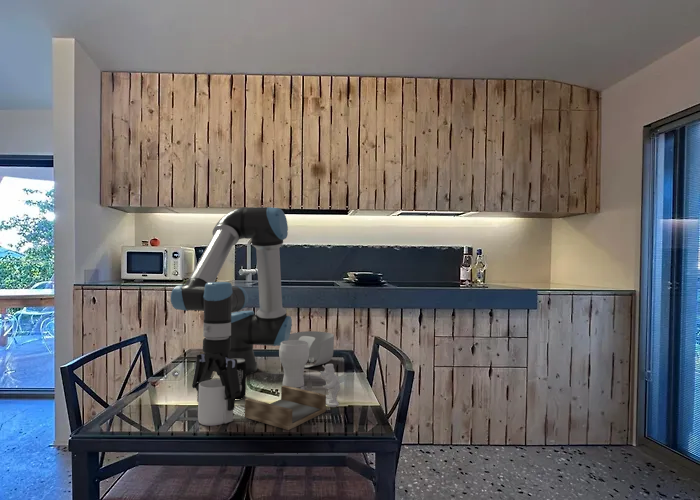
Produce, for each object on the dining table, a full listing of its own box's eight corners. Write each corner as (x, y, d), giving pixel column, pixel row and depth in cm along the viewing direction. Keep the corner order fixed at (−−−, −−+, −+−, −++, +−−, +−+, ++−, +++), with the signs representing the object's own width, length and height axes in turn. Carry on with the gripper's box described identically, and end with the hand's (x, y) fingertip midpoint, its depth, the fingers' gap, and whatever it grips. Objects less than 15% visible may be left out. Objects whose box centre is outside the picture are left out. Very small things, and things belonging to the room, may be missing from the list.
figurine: (315, 398, 143) (316, 361, 143) (335, 397, 145) (335, 360, 145) (322, 408, 134) (323, 368, 135) (343, 406, 136) (344, 367, 137)
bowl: (342, 361, 194) (343, 334, 194) (316, 370, 178) (316, 341, 178) (306, 355, 205) (306, 329, 205) (278, 363, 188) (278, 335, 189)
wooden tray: (244, 417, 125) (245, 399, 125) (284, 401, 140) (284, 385, 140) (288, 430, 117) (288, 411, 117) (325, 411, 131) (326, 394, 131)
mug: (198, 412, 129) (199, 376, 129) (227, 409, 131) (228, 374, 131) (197, 427, 117) (198, 388, 117) (230, 424, 120) (230, 386, 120)
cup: (314, 385, 158) (315, 342, 158) (291, 391, 150) (292, 346, 150) (295, 379, 165) (296, 338, 165) (272, 384, 157) (273, 342, 158)
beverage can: (226, 402, 138) (227, 363, 138) (222, 396, 144) (223, 359, 144) (247, 399, 141) (248, 361, 141) (242, 393, 147) (243, 357, 147)
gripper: (179, 335, 127) (177, 413, 126) (235, 344, 115) (233, 430, 115) (201, 331, 133) (199, 406, 133) (255, 339, 121) (254, 422, 121)
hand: (215, 417), depth 124 cm, fingers closed on mug, 10 cm apart
